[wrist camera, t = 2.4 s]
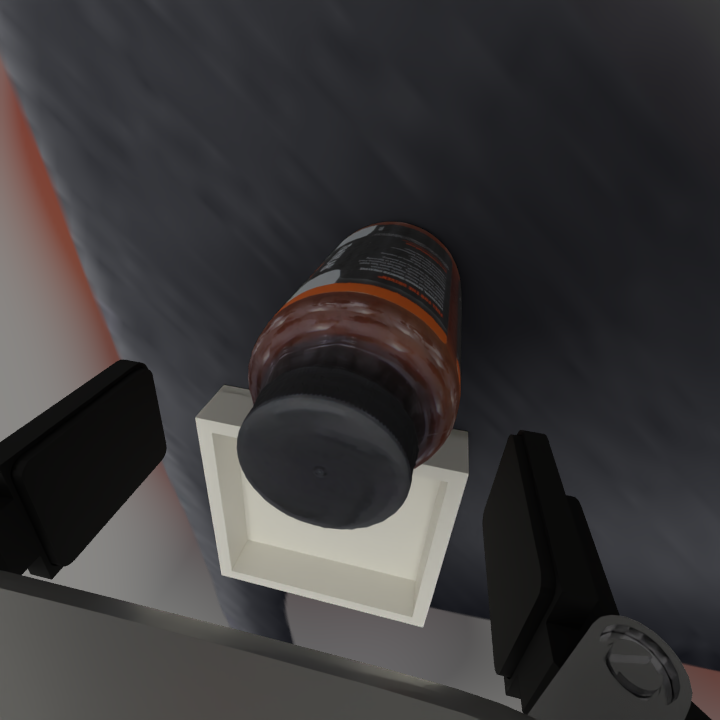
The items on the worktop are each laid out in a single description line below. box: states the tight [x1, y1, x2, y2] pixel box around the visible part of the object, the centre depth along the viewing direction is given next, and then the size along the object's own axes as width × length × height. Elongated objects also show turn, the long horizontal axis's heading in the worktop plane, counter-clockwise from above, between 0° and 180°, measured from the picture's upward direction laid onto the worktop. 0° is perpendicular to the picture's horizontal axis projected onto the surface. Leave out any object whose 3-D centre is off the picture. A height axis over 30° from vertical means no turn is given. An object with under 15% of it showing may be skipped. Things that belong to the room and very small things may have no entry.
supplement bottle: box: [237, 222, 462, 530], centre depth 14 cm, size 6×6×11 cm
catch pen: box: [195, 385, 469, 627], centre depth 25 cm, size 14×14×3 cm
